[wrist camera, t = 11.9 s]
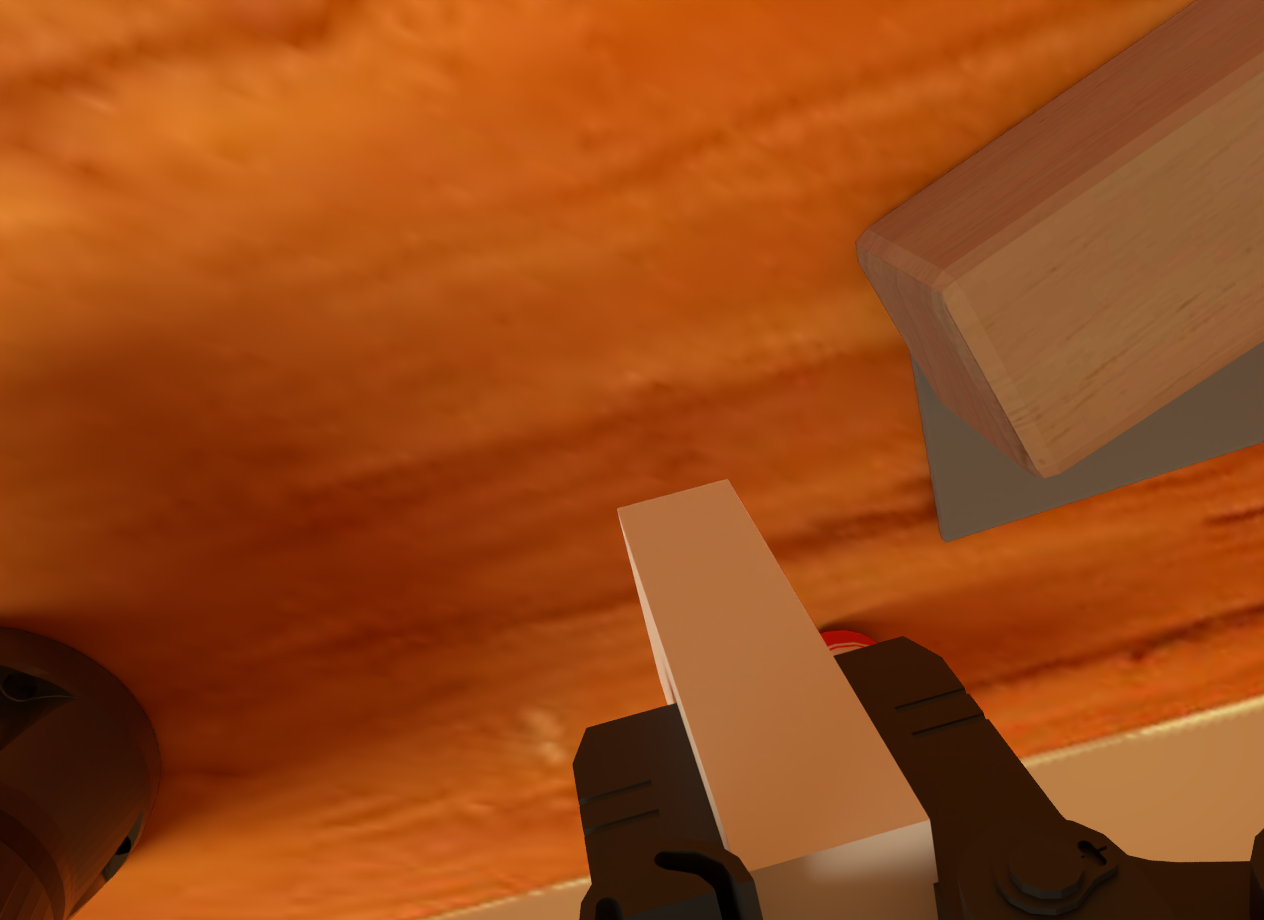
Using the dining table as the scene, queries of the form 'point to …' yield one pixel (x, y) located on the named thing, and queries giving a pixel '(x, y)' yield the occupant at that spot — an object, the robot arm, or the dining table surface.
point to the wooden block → (1093, 246)
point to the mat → (1162, 442)
